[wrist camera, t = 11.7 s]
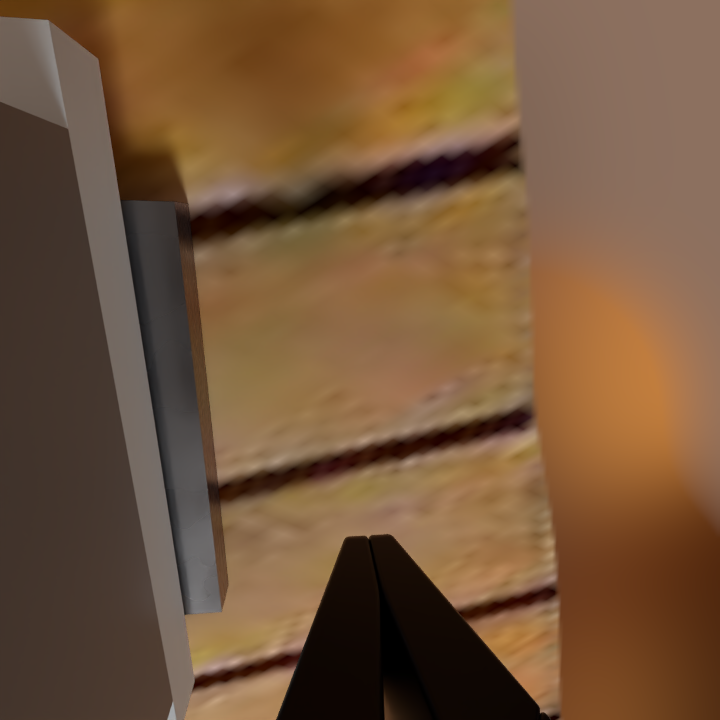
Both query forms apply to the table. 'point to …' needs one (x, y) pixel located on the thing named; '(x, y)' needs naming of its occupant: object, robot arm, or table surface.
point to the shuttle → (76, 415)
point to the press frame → (178, 393)
